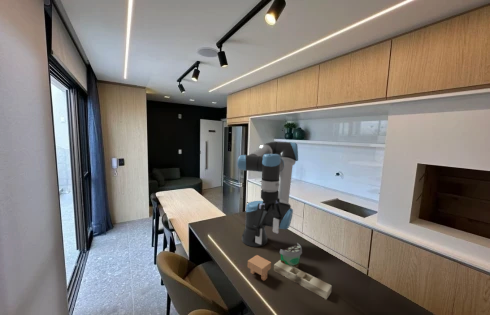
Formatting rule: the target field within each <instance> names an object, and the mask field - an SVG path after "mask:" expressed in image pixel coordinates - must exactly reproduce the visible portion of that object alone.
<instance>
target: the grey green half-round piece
mask: <svg viewBox="0 0 490 315" xmlns="http://www.w3.org/2000/svg"><path fill="white" fill-rule="evenodd" d="M279 254H280V260H281V262H282V263H284V264H287V265H291V266H293V267H295V268H297V269H299V266H300V258H301V255H302V254H303V248H302V245H300V244H299V243H298V242H296V244H295V245H291V246H288V247H286V248H284V249H281V248H280V250H279Z"/></svg>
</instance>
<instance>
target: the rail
mask: <svg viewBox="0 0 490 315" xmlns="http://www.w3.org/2000/svg"><path fill="white" fill-rule="evenodd" d="M273 271H274V272H276V273H277V274H279V275H282V276H283V277H284V276H285V278H286V279H288V280H289V281H291V282H294V283H295V284H296V285H297V284H298V285H299V286H300V287H303V288H304V289H306V290H308V291H310V292H312V293H313V294H315V295H318V296H320V297H322V299H323V298H324V300H328V298H329V296H330V295H331V293H332V287H333V286H332V285H333V284H332V285H331V284H330V283H327V282H325V281H323V280H321V278H317V277H315V276H313V275H312V274H310V273H307V272H305V271H303V270H301V269H299V268H298V269H297V268H295V267H293V266H291V265H287V264H284V263H282V262H281V259H279V260H278V261H276V263H274V264H273Z"/></svg>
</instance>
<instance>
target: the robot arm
mask: <svg viewBox="0 0 490 315" xmlns="http://www.w3.org/2000/svg"><path fill="white" fill-rule="evenodd" d="M298 146H299V145H298V144H297V142H293V141H292V142H291V141H289V142H287V141H285V142H284V141H271V142H270V141H269V142H266V143H264V144H262V145H260V146H259V147H258V149H256V150H254V151H253V152H251V153H249V154H241V155H239V156H238V158H237V168H238V170H241V171H244V172H245V171H247V172H259V173H261V184H260V185H261V186H260V188H261V190H260V198H261V200H254V201H249V202H248V203H247V204H246V207H245V226H244V229H243V233H242V235H241V241H242V243H243V244H244V245H247V246H249V247H252V248H253V247H257V248H258V247H262V246H265V245H267V243H268V236H267V231H266V227H270V228H272V232H273V233H275V234H279V232H280V231H279V229H280V230H281V229H282V230H288V229H289V228H290V226H291V223H292V220H293V214H294V209H293V208H291V207H292V205H291V204H290V202H289V201H290V191H291V186H292V185H291V184H292V176H293V175H292V174H293V166H295V164H296V162H298V161H299V150H298V149H299V148H298Z"/></svg>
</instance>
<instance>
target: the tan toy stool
mask: <svg viewBox="0 0 490 315" xmlns="http://www.w3.org/2000/svg"><path fill="white" fill-rule="evenodd" d="M247 268H248V269H250V274H252V275H254V274H255V273H256V274H258V275H259V276H260V278H261V280H262V281H263V282H264V281H266V280H267V279H268V272H269V271H270V270H271V268H272V262H271V261H269V260H268V259H266V258H264V257H262V256H260V255H258V254H256V255H254V256H253V257H251V258H249V259H248V260H247Z"/></svg>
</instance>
